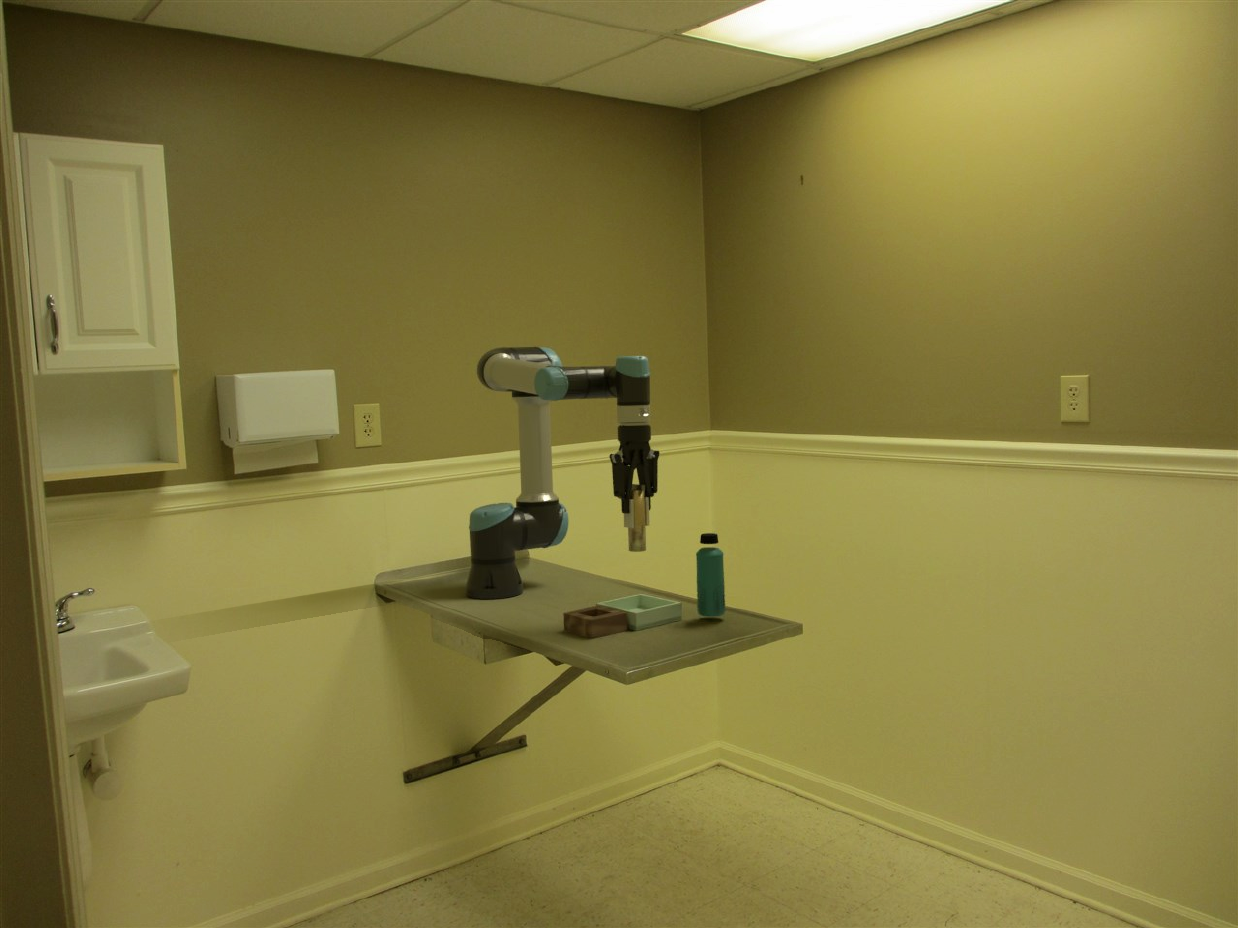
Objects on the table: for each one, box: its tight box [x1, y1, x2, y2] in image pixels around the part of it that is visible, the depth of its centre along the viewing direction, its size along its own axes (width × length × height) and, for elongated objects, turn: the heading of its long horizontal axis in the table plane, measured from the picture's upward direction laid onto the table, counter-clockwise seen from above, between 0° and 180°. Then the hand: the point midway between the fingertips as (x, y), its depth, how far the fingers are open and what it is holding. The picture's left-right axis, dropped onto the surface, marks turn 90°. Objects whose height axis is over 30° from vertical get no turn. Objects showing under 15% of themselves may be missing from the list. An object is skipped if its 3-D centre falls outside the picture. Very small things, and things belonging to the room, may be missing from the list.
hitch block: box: [563, 605, 628, 639], centre depth 222 cm, size 10×10×4 cm
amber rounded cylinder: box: [627, 483, 647, 553], centre depth 228 cm, size 5×4×15 cm
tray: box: [595, 593, 683, 632], centre depth 230 cm, size 14×14×4 cm
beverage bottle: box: [695, 532, 727, 618], centre depth 228 cm, size 6×7×20 cm
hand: (636, 525), depth 228 cm, fingers closed on amber rounded cylinder, 4 cm apart
